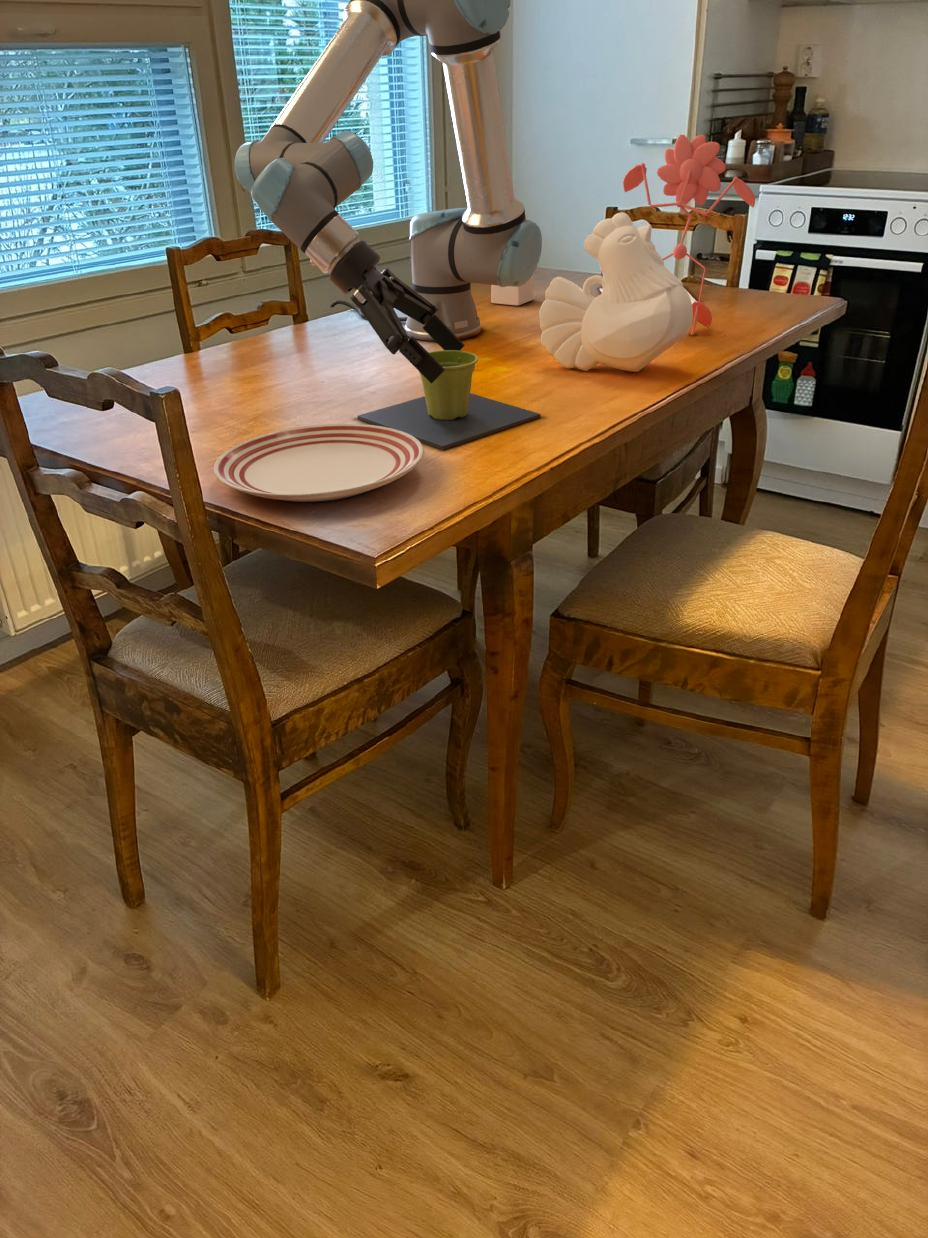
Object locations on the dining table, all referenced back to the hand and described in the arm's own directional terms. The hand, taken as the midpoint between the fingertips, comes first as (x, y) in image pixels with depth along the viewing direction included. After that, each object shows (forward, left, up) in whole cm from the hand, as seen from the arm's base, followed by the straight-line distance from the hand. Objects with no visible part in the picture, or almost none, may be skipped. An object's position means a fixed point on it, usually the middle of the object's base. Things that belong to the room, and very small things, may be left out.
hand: (449, 363), depth 144 cm
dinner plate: (+6, -28, -9) cm, 30 cm away
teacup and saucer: (-33, +91, -9) cm, 97 cm away
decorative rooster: (0, +39, -9) cm, 40 cm away
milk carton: (-52, +66, -9) cm, 84 cm away
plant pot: (0, 0, -8) cm, 8 cm away
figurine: (-10, +72, -9) cm, 73 cm away
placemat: (0, 0, -8) cm, 8 cm away
